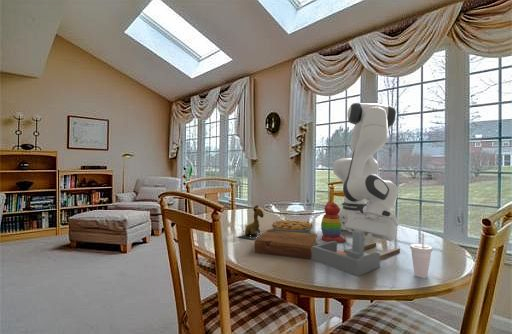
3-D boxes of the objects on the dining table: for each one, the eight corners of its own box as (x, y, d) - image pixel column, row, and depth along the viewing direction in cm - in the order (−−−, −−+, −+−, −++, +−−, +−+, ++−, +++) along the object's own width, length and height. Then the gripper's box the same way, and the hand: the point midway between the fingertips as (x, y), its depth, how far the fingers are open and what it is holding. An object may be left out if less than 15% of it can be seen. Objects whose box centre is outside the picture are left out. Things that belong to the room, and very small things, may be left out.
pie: (317, 229, 158) (317, 220, 158) (307, 239, 138) (307, 228, 138) (280, 225, 167) (279, 217, 167) (265, 234, 148) (265, 224, 147)
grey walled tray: (311, 259, 110) (311, 246, 110) (333, 252, 117) (333, 240, 117) (357, 276, 94) (357, 261, 93) (379, 267, 101) (379, 253, 101)
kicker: (341, 257, 111) (341, 231, 111) (355, 252, 116) (355, 227, 116) (359, 263, 104) (359, 235, 104) (373, 258, 110) (373, 231, 109)
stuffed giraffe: (260, 241, 134) (260, 207, 135) (229, 237, 144) (229, 205, 144) (276, 235, 148) (275, 204, 149) (246, 231, 157) (246, 202, 158)
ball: (328, 260, 104) (333, 247, 105) (336, 264, 107) (340, 252, 108) (340, 264, 100) (344, 250, 101) (347, 268, 103) (352, 255, 104)
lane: (341, 255, 114) (341, 251, 114) (373, 245, 127) (373, 242, 127) (369, 264, 105) (369, 259, 104) (399, 252, 118) (399, 248, 118)
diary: (254, 254, 118) (254, 240, 117) (268, 242, 135) (268, 230, 135) (310, 260, 110) (310, 245, 110) (317, 246, 127) (317, 233, 127)
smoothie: (435, 280, 90) (436, 236, 90) (413, 278, 92) (413, 235, 91) (427, 272, 97) (428, 231, 96) (407, 271, 98) (407, 230, 97)
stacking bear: (347, 242, 132) (347, 203, 132) (326, 243, 131) (326, 204, 130) (337, 236, 143) (337, 200, 142) (317, 237, 141) (317, 201, 141)
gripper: (350, 207, 124) (336, 233, 119) (397, 214, 108) (383, 245, 102) (356, 216, 127) (342, 242, 121) (403, 224, 110) (389, 254, 105)
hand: (361, 243), depth 112 cm, fingers closed
